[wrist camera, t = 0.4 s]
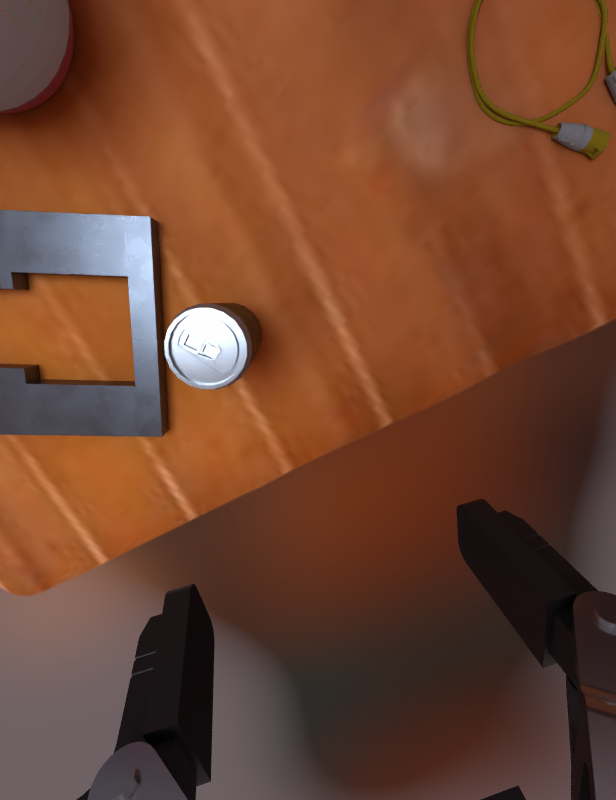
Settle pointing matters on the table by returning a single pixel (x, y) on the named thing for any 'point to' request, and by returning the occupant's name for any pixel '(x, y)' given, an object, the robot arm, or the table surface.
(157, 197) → the table surface
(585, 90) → the extension cord
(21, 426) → the keyhole plate
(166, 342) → the green drink can
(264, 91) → the table surface
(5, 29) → the citrus juicer
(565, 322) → the table surface
